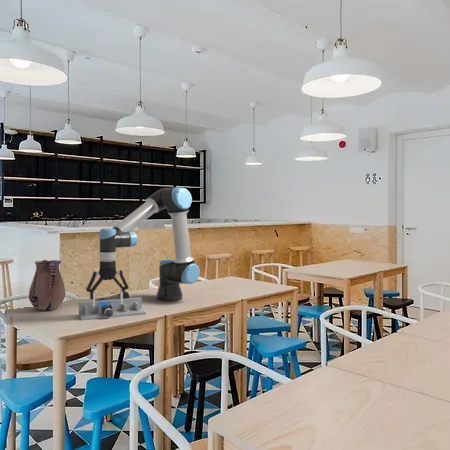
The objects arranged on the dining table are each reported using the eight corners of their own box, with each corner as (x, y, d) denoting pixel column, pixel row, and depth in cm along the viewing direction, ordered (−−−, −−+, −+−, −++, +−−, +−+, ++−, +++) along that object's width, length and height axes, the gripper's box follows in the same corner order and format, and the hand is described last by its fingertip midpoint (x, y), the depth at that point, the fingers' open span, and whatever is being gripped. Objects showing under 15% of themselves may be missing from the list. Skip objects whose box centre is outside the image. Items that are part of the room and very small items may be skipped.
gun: (133, 304, 242) (126, 288, 240) (97, 320, 234) (90, 303, 232) (131, 303, 246) (125, 286, 244) (96, 318, 238) (89, 301, 236)
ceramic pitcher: (56, 303, 244) (56, 258, 243) (74, 310, 229) (74, 261, 228) (23, 308, 232) (23, 260, 231) (40, 315, 217) (39, 264, 216)
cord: (101, 312, 221) (101, 305, 221) (108, 312, 222) (109, 305, 222) (105, 317, 212) (105, 309, 212) (112, 316, 213) (113, 309, 213)
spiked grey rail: (141, 309, 232) (141, 297, 231) (146, 314, 223) (146, 301, 222) (78, 315, 218) (78, 302, 218) (81, 320, 209) (81, 306, 209)
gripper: (131, 258, 223) (131, 301, 224) (80, 260, 213) (80, 305, 214) (134, 260, 216) (134, 304, 217) (82, 262, 206) (82, 308, 207)
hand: (107, 304), depth 215 cm, fingers open, 12 cm apart
